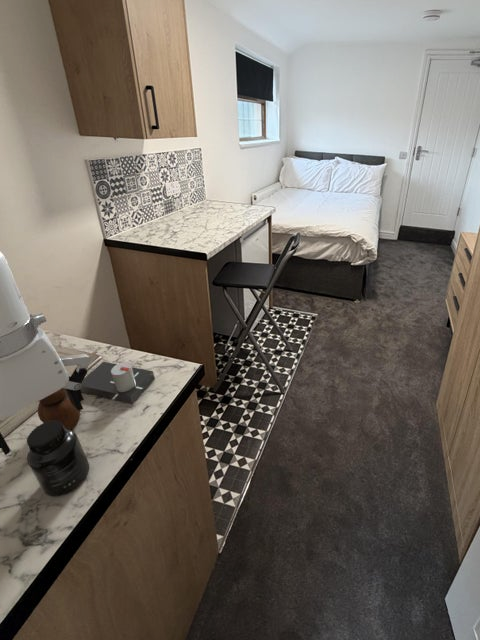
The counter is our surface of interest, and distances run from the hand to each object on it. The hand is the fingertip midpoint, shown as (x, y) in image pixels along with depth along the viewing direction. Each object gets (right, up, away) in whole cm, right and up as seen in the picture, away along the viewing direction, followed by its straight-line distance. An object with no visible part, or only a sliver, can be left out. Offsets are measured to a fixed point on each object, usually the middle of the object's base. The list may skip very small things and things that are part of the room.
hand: (43, 425), depth 51 cm
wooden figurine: (-8, -7, +16) cm, 19 cm away
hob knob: (+1, -1, +22) cm, 22 cm away
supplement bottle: (0, -12, +6) cm, 14 cm away
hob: (-2, -3, +25) cm, 26 cm away
